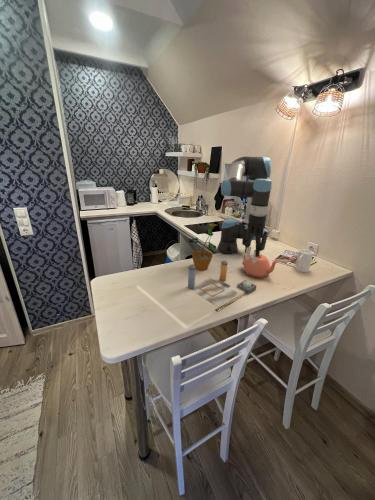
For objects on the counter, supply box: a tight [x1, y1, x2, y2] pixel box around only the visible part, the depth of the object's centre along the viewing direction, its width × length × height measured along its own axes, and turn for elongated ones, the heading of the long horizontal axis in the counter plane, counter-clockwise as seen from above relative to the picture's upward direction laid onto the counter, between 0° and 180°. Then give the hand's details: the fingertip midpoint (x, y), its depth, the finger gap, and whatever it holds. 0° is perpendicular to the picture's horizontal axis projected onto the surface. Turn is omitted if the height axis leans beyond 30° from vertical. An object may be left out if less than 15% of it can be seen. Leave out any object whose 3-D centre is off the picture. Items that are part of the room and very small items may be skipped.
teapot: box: [242, 252, 280, 278], centre depth 130 cm, size 22×16×12 cm
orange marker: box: [219, 260, 229, 282], centre depth 120 cm, size 4×4×12 cm
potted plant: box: [188, 223, 217, 272], centre depth 130 cm, size 18×19×30 cm
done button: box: [242, 280, 253, 288], centre depth 116 cm, size 4×4×3 cm
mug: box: [294, 248, 314, 273], centre depth 137 cm, size 12×8×12 cm
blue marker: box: [187, 264, 196, 290], centre depth 112 cm, size 4×4×12 cm
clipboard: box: [186, 276, 245, 312], centre depth 112 cm, size 24×20×1 cm
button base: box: [236, 279, 257, 295], centre depth 116 cm, size 7×7×2 cm
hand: (250, 260), depth 110 cm, fingers open, 3 cm apart
